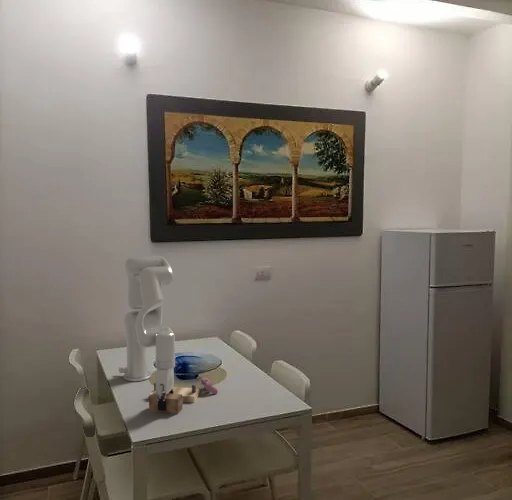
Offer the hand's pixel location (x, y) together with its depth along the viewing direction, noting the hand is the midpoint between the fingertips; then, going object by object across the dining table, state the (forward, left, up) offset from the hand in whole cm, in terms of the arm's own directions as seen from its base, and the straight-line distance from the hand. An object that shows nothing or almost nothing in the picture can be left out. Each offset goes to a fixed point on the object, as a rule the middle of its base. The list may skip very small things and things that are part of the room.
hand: (165, 405), depth 189 cm
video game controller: (+13, +22, -2) cm, 25 cm away
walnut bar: (0, 0, -2) cm, 2 cm away
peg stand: (0, +13, -2) cm, 13 cm away
